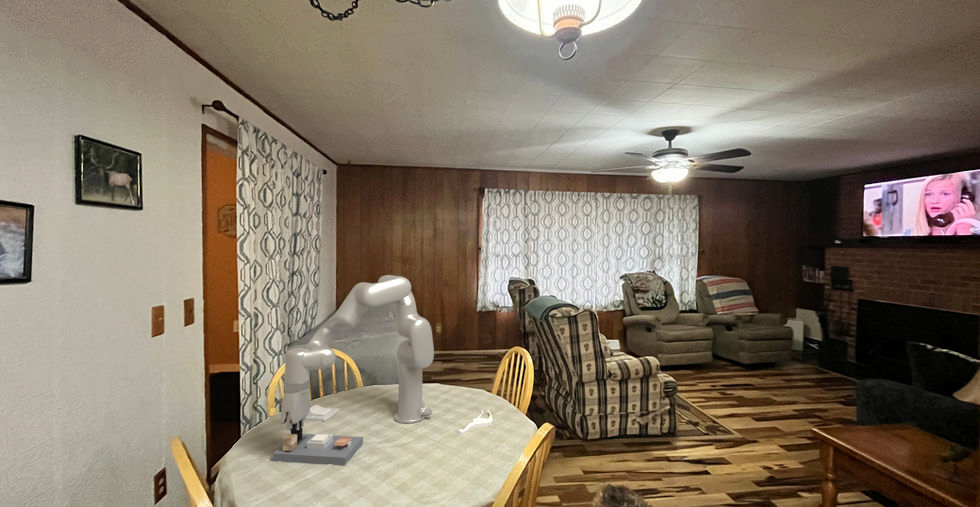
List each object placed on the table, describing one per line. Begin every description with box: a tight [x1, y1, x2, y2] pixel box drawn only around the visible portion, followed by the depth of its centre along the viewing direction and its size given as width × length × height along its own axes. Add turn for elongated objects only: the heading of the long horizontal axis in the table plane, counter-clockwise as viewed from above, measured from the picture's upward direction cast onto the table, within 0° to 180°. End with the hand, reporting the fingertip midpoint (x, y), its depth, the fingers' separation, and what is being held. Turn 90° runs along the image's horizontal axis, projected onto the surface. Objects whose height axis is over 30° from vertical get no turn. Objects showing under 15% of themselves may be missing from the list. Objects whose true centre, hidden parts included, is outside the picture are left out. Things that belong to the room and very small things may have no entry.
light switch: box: [304, 404, 341, 422], centre depth 163 cm, size 11×4×13 cm
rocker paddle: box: [334, 437, 352, 446], centre depth 132 cm, size 3×6×2 cm, turn 175°
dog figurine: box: [455, 410, 494, 436], centre depth 156 cm, size 2×13×20 cm
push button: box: [311, 433, 330, 443], centre depth 132 cm, size 4×4×2 cm
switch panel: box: [272, 433, 364, 466], centre depth 132 cm, size 24×14×4 cm, turn 85°
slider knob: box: [282, 433, 297, 451], centre depth 129 cm, size 3×3×4 cm
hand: (296, 440), depth 133 cm, fingers closed
